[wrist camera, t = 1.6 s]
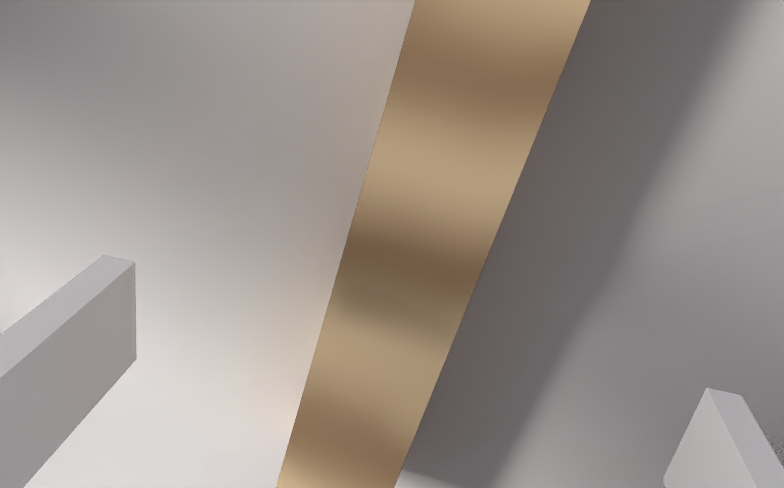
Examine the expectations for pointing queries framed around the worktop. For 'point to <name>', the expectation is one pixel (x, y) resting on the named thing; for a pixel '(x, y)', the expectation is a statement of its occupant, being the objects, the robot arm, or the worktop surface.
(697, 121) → the worktop surface
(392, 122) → the oak bar
